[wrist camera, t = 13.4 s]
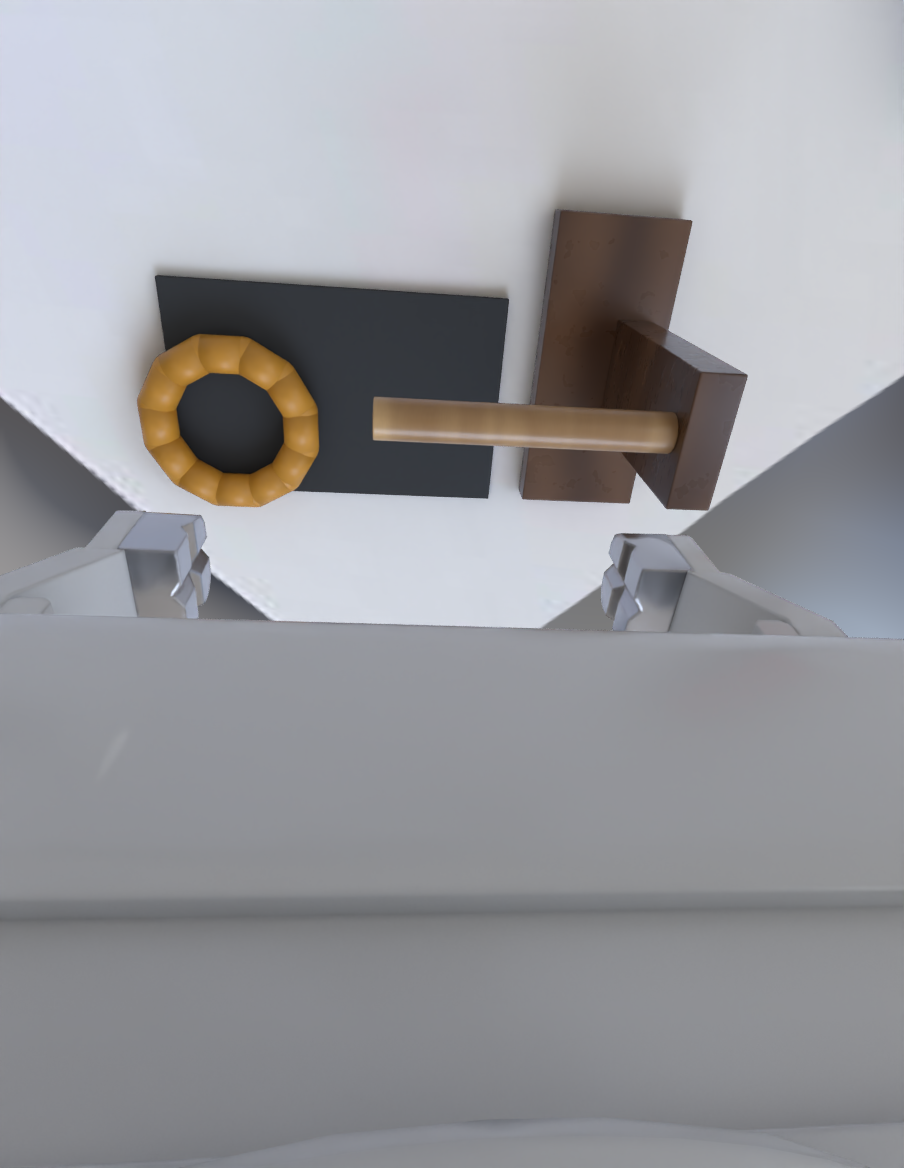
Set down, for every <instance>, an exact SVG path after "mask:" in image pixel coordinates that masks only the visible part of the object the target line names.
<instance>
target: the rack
mask: <svg viewBox="0 0 904 1168" xmlns="http://www.w3.org/2000/svg"><path fill="white" fill-rule="evenodd" d="M691 226H692V221H691V220H684V219H673V218H660V217H648V216H635V215H622V214H610V213H597V212H584V211H572V210H559V209H557V210H555V216H554V224H553V232H552V239H551V247H550V255H549V262H548V270H547V278H546V285H545V293H544V301H543V309H542V316H541V324H540V332H539V339H538V347H537V355H536V362H535V370H534V378H533V385H532V393H531V401H530V405H528V404H509V403H490V402H470V401H451V400H432V399H413V398H394V397H374V399H373V440H379V441H400V442H422V443H444V444H465V445H487V446H508V447H524V455H523V462H522V470H521V478H520V486H519V491H520V494H521V497H522V499H527V500H552V501H578V502H603V503H630V498H631V494H632V489H633V485H634V481H635V476H636V472H637V473H638V474H639V476H640V477H641V478H642V479H643V481H644V482H645V483H646V484H647V486H648V487H649V488H650V489H651V491H652V492H653V493H654V494H655V495H656V497H657V498H658V499H659V500H660V502H661V503H662V504H663V505H664V507H665V508H666V509H682V510H709V507H710V504H711V500H712V497H713V493H714V490H715V486H716V483H717V480H718V476H719V473H720V469H721V466H722V462H723V459H724V456H725V452H726V449H727V445H728V442H729V438H730V435H731V432H732V428H733V425H734V421H735V418H736V415H737V411H738V408H739V404H740V401H741V397H742V394H743V391H744V387H745V384H746V380H747V377H748V375H747V374H745V373H743V372H741V371H740V370H738V369H736V368H734V367H732V366H731V365H729V364H727V363H725V362H723V361H722V360H720V359H718V358H716V357H714V356H713V355H711V354H709V353H707V352H705V351H704V350H702V349H700V348H698V347H697V346H695V345H693V344H691V343H689V342H688V341H686V340H684V339H682V338H680V337H679V336H677V335H675V334H673V333H671V332H670V331H668V329H669V324H670V320H671V315H672V311H673V306H674V302H675V297H676V293H677V289H678V284H679V280H680V275H681V271H682V266H683V262H684V257H685V253H686V248H687V244H688V239H689V235H690V231H691Z"/></svg>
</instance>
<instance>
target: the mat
mask: <svg viewBox="0 0 904 1168" xmlns="http://www.w3.org/2000/svg"><path fill="white" fill-rule="evenodd" d="M155 280H156V287H157V294H158V301H159V308H160V314H161V321H162V328H163V335H164V342H165V349H166V351H167V350H169V349H171V348H173V347H174V346H176V345H178V344H180V343H181V342H183V341H185V340H187V339H188V338H190V337H192V336H194V335H198V334H209V335H226V336H243V337H248V338H250V339H252V340H254V341H255V342H257V343H259V344H260V345H262V346H263V347H265V348H267V349H268V350H270V351H272V352H273V353H275V354H276V355H278V356H280V357H281V358H283V359H285V360H286V361H288V362H289V363H290V364H291V365H292V366H293V367H294V368H295V370H296V372H297V373H298V375H299V377H300V378H301V380H302V381H303V383H304V385H305V386H306V388H307V390H308V391H309V393H310V395H311V396H312V398H313V400H314V401H315V403H316V405H317V409H318V430H319V452H318V454H317V456H316V458H315V460H314V462H313V463H312V465H311V467H310V468H309V470H308V472H307V473H306V475H305V477H304V478H303V480H302V482H301V483H300V485H299V486H298V487H297V488H296V489H295V490H293V491H308V492H334V493H360V494H385V495H411V496H436V497H462V498H488V494H489V484H490V475H491V465H492V456H493V446H487V445H465V444H444V443H422V442H400V441H379V440H373V399H374V397H394V398H413V399H432V400H451V401H470V402H490V403H498V399H499V389H500V380H501V370H502V361H503V351H504V342H505V332H506V323H507V313H508V304H509V299H507V298H493V297H478V296H463V295H448V294H433V293H418V292H403V291H387V290H372V289H357V288H342V287H327V286H312V285H297V284H282V283H267V282H252V281H237V280H221V279H206V278H191V277H176V276H161V275H157V276H155ZM176 409H177V416H178V423H179V430H180V436H181V437H182V438H183V440H184V441H185V442H186V444H187V445H188V446H189V448H190V449H191V450H192V452H193V453H194V454H195V456H196V457H197V459H199V460H201V461H203V462H204V463H206V464H208V465H210V466H212V467H214V468H216V469H217V470H219V471H221V472H223V473H240V474H252V473H254V472H256V471H258V470H260V469H262V468H263V467H265V466H267V465H269V464H271V463H273V461H274V460H275V458H276V456H277V454H278V452H279V451H280V449H281V447H282V445H283V443H284V430H283V416H282V414H281V413H280V411H279V409H278V408H277V406H276V405H275V403H274V402H273V400H272V399H271V397H270V395H269V394H268V392H267V391H266V390H265V389H263V388H261V387H260V386H258V385H256V384H254V383H253V382H251V381H249V380H248V379H246V378H244V377H243V376H241V375H239V374H220V373H209V374H207V375H205V376H203V377H202V378H200V379H198V380H196V381H194V382H193V383H191V384H189V385H187V387H186V389H185V391H184V393H183V395H182V397H181V400H180V402H179V404H178V406H177V408H176Z"/></svg>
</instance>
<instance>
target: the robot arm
mask: <svg viewBox="0 0 904 1168" xmlns="http://www.w3.org/2000/svg"><path fill="white" fill-rule="evenodd" d="M206 538H207V536H206V529H205V522H204V520H203V518H202V516H201V515H189V514H173V513H156V512H146V511H116V512H115V513H114V514H113V516H112V517H111V518H110V519H109V520H108V521H107V523H106V524H105V525H104V526H103V527H102V528H101V530H100V531H99V532H98V533H97V534H96V535H95V537H94V538H93V539H92V540H91V541H90V542H89V544H88V545H87V546H86V547H85V548H74V549H71V550H68V551H66V552H63V553H60V554H57V555H55V556H52V557H49V558H47V559H44V560H41V561H38V562H35V563H33V564H30V565H27V566H24V567H22V568H19V569H16V570H14V571H11V572H8V573H5V574H2V575H0V1168H904V639H889V638H856V637H848V636H847V635H846V634H845V633H844V632H843V631H842V630H841V629H840V628H839V627H838V626H837V625H836V624H835V623H834V622H833V621H832V620H829V619H827V618H825V617H823V616H821V615H818V614H816V613H814V612H812V611H810V610H808V609H805V608H803V607H801V606H799V605H797V604H794V603H792V602H790V601H788V600H786V599H784V598H781V597H779V596H777V595H775V594H773V593H771V592H768V591H766V590H764V589H762V588H760V587H757V586H755V585H753V584H751V583H748V582H747V581H744V580H742V579H740V578H738V577H736V576H734V575H731V574H729V573H724V572H719V570H718V569H717V568H716V567H715V565H714V564H713V563H712V562H711V561H710V559H709V558H708V557H707V556H706V555H705V553H704V552H703V551H702V550H701V548H700V547H699V546H698V545H697V544H696V543H695V541H694V540H693V539H692V537H691V536H687V535H666V534H626V533H620V534H616V535H615V536H614V538H613V540H612V542H611V546H610V550H609V555H610V557H611V559H612V561H613V564H612V565H611V566H610V567H609V568H608V569H607V570H606V571H605V572H604V576H603V581H602V586H601V601H602V607H603V610H604V612H605V614H606V616H607V617H609V618H611V619H612V620H614V623H613V628H612V629H613V631H610V630H575V629H541V628H506V627H471V626H436V625H401V624H366V623H332V622H297V621H262V620H261V621H259V620H226V619H198V617H199V615H198V607H199V606H200V605H203V604H204V603H205V601H206V599H207V597H208V594H209V587H210V581H211V579H210V577H211V571H210V560H209V557H208V556H207V555H206V553H205V552H204V551H203V550H202V549H201V547H202V545H203V543H204V542H205V540H206Z"/></svg>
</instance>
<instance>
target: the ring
mask: <svg viewBox="0 0 904 1168" xmlns="http://www.w3.org/2000/svg"><path fill="white" fill-rule="evenodd" d="M209 373H220V374H239V375H241V376H243V377H244V378H246V379H248V380H249V381H251V382H253V383H254V384H256V385H258V386H260V387H261V388H263V389H265V390H266V391H267V392H268V394H269V395H270V397H271V399H272V400H273V402H274V403H275V405H276V406H277V408H278V409H279V411H280V413H281V414H282V416H283V430H284V443H283V445H282V447H281V449H280V451H279V452H278V454H277V456H276V458H275V460H274V461H273V463H271V464H269V465H267V466H265V467H263V468H262V469H260V470H258V471H256V472H254V473H252V474H240V473H223V472H221V471H219V470H217V469H216V468H214V467H212V466H210V465H208V464H206V463H204V462H203V461H201V460H199V459H197V457H196V456H195V454H194V453H193V452H192V450H191V449H190V448H189V446H188V445H187V444H186V442H185V441H184V440H183V438H182V437H181V436H180V430H179V423H178V416H177V409H176V408H177V406H178V404H179V402H180V400H181V397H182V395H183V393H184V391H185V389H186V387H187V385H189V384H191V383H193V382H194V381H196V380H198V379H200V378H202V377H203V376H205V375H207V374H209ZM137 405H138V411H139V417H140V423H141V428H142V434H143V440H144V444H145V447H146V448H147V450H148V451H149V453H150V454H151V455H152V456H153V458H154V459H155V460H156V462H157V463H158V464H159V465H160V467H161V468H162V469H163V471H164V472H165V473H166V474H167V476H168V477H169V478H170V480H171V481H172V482H173V483H174V484H175V485H177V486H179V487H181V488H182V489H184V490H186V491H188V492H190V493H192V494H194V495H196V496H198V497H200V498H202V499H204V500H206V501H208V502H209V503H211V504H214V505H218V506H239V507H261V506H263V505H265V504H267V503H269V502H271V501H273V500H275V499H277V498H279V497H281V496H283V495H285V494H287V493H289V492H291V491H293V490H295V489H296V488H297V487H298V486H299V485H300V483H301V482H302V480H303V478H304V477H305V475H306V473H307V472H308V470H309V468H310V467H311V465H312V463H313V462H314V460H315V458H316V456H317V454H318V452H319V430H318V409H317V405H316V403H315V401H314V400H313V398H312V396H311V395H310V393H309V391H308V390H307V388H306V386H305V385H304V383H303V381H302V380H301V378H300V377H299V375H298V373H297V372H296V370H295V368H294V367H293V366H292V365H291V364H290V363H289V362H288V361H286V360H285V359H283V358H281V357H280V356H278V355H276V354H275V353H273V352H272V351H270V350H268V349H267V348H265V347H263V346H262V345H260V344H259V343H257V342H255V341H254V340H252V339H250V338H248V337H243V336H226V335H209V334H198V335H194V336H192V337H190V338H188V339H187V340H185V341H183V342H181V343H180V344H178V345H176V346H174V347H173V348H171V349H169V350H167V351H166V352H164V353H162V354H160V355H159V356H157V357H156V359H155V360H154V362H153V364H152V366H151V368H150V370H149V373H148V375H147V377H146V380H145V382H144V384H143V386H142V389H141V391H140V393H139V395H138V399H137Z"/></svg>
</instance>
